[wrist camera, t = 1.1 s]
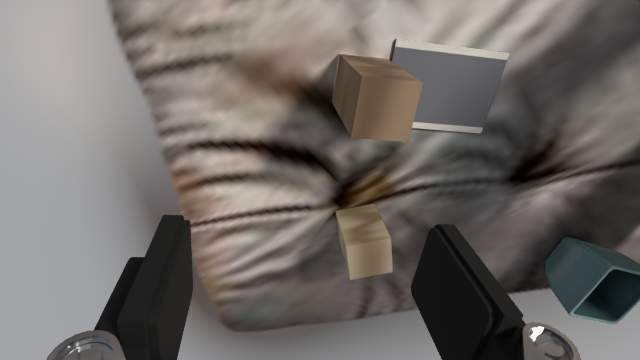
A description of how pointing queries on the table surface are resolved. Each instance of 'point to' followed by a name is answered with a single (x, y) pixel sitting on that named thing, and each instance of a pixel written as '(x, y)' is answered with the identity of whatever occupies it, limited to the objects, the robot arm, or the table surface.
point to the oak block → (364, 241)
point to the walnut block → (375, 98)
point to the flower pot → (593, 280)
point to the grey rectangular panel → (451, 83)
